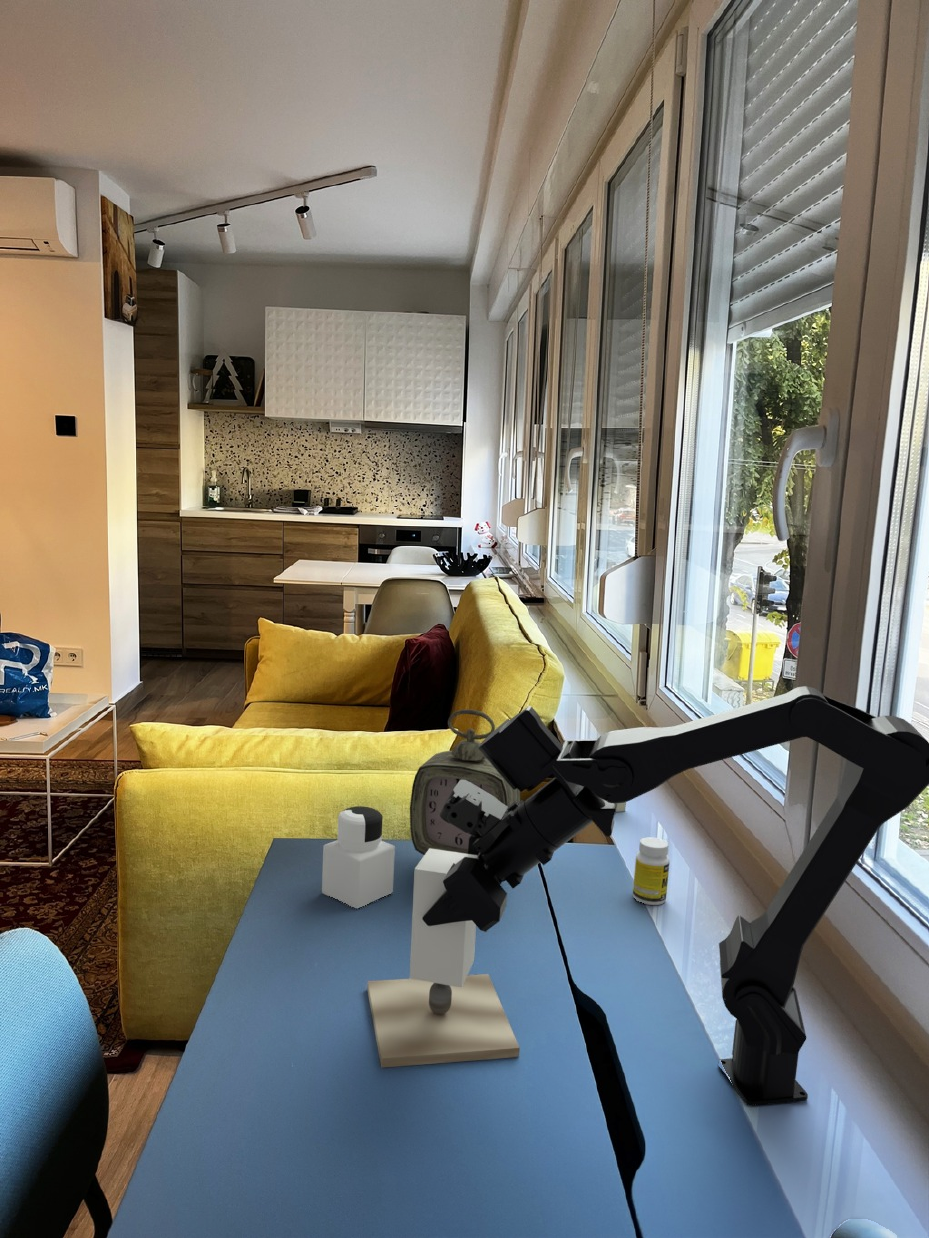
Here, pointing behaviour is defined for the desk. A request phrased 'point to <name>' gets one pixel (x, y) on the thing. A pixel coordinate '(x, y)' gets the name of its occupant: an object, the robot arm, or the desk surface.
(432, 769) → the tabletop clock
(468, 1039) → the post stand
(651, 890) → the supplement bottle
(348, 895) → the medicine bottle
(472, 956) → the tall white pillar
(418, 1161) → the desk surface
